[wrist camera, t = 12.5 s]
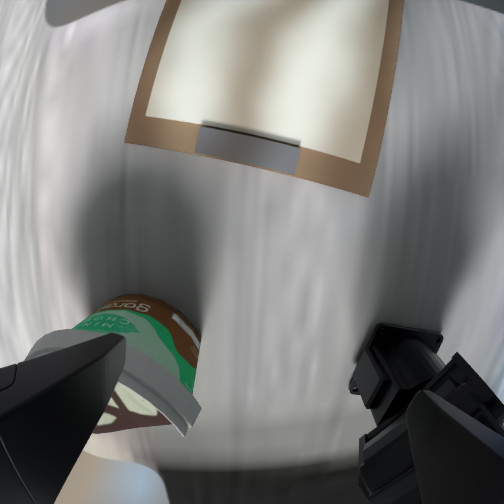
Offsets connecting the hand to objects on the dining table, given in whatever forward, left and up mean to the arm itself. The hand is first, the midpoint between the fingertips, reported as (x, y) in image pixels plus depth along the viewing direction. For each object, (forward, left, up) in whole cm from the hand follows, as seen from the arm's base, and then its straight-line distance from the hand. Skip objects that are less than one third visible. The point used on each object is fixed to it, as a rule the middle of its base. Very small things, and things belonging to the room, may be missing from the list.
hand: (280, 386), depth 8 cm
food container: (+9, +7, -13) cm, 18 cm away
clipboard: (+3, -15, -13) cm, 20 cm away
